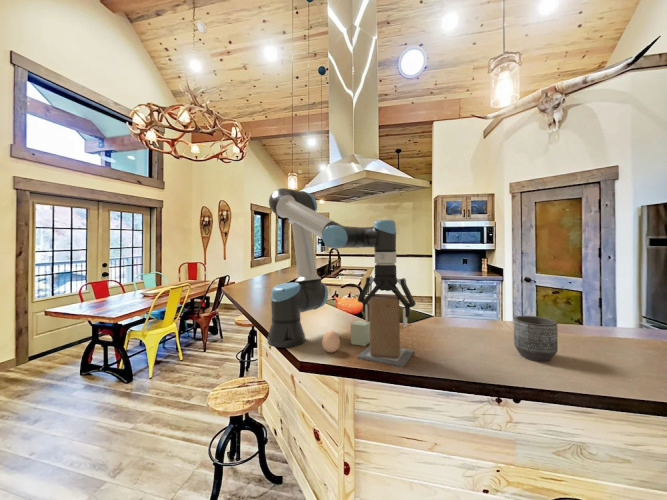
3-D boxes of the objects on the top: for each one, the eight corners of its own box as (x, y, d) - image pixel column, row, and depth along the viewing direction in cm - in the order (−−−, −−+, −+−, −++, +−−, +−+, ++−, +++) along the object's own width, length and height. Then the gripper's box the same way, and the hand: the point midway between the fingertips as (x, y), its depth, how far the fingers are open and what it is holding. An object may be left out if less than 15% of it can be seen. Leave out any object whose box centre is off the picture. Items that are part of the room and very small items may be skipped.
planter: (567, 362, 91) (567, 323, 91) (535, 365, 89) (534, 325, 89) (534, 349, 103) (534, 314, 103) (505, 351, 101) (505, 316, 101)
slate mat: (357, 358, 97) (357, 355, 97) (371, 345, 110) (371, 342, 110) (403, 367, 90) (403, 364, 90) (413, 352, 102) (413, 349, 102)
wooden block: (399, 359, 94) (399, 299, 93) (369, 356, 96) (369, 298, 96) (399, 348, 103) (399, 294, 103) (372, 346, 106) (371, 293, 105)
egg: (327, 347, 108) (327, 327, 108) (343, 350, 105) (342, 329, 105) (318, 353, 102) (318, 331, 102) (335, 356, 99) (335, 334, 99)
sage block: (351, 343, 112) (350, 323, 111) (357, 339, 117) (356, 320, 117) (365, 346, 109) (364, 325, 109) (370, 341, 114) (370, 321, 114)
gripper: (348, 264, 102) (349, 322, 102) (419, 265, 90) (420, 331, 90) (357, 262, 108) (357, 317, 109) (423, 264, 97) (424, 325, 97)
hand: (385, 324), depth 99 cm, fingers open, 13 cm apart
